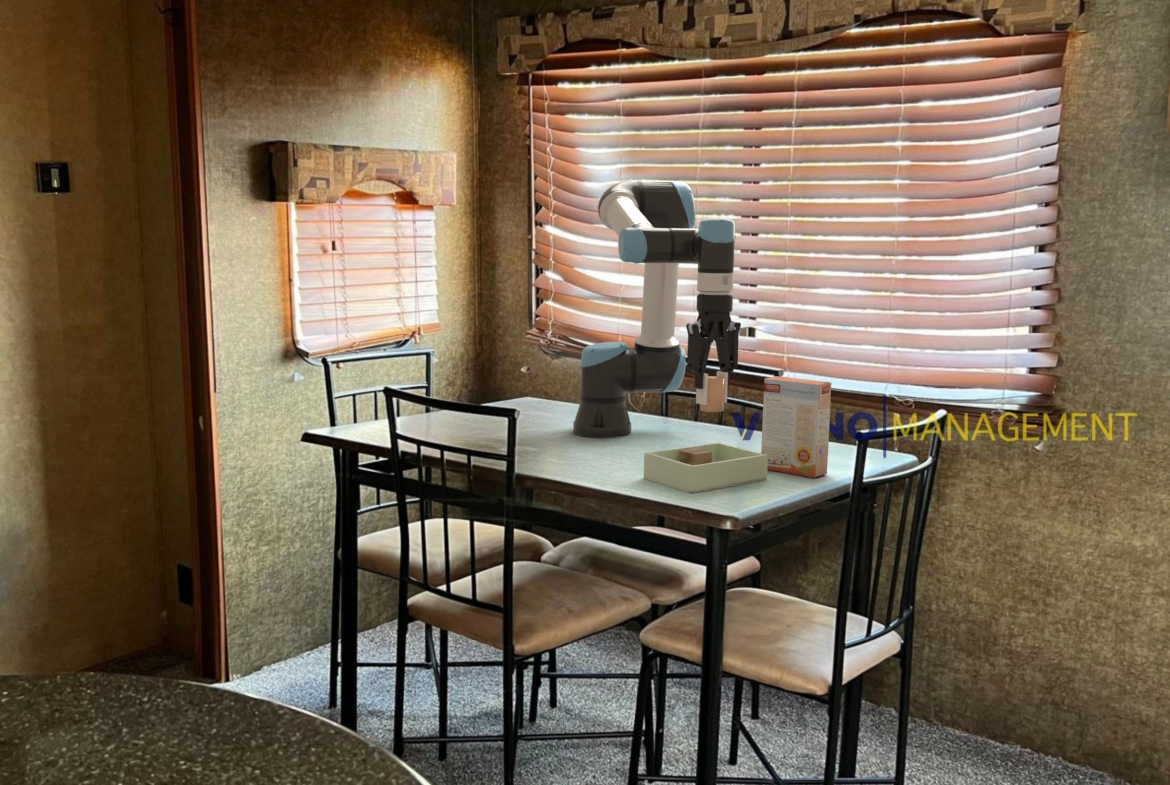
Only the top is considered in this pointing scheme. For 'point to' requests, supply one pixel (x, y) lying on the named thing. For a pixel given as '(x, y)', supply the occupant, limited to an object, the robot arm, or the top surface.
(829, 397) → the cracker box
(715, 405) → the terracotta cylinder
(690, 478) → the sage tote
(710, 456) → the walnut cube
